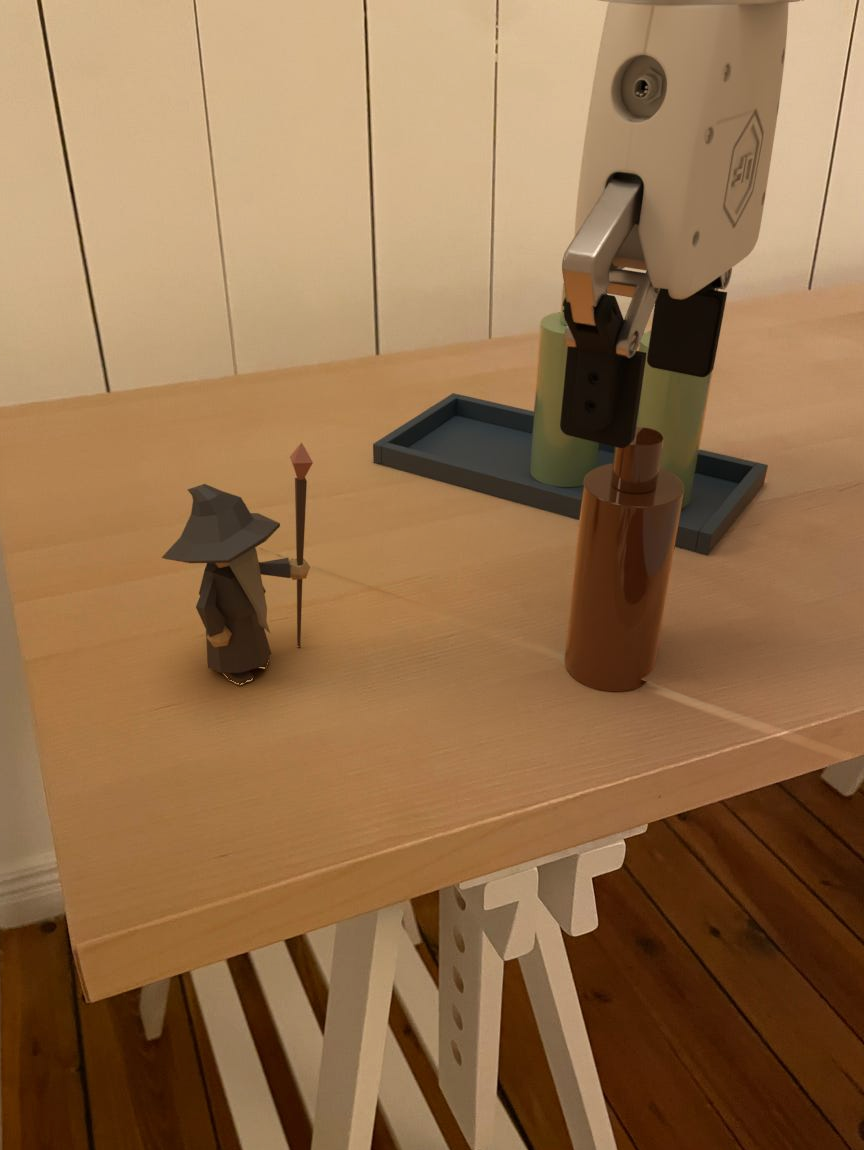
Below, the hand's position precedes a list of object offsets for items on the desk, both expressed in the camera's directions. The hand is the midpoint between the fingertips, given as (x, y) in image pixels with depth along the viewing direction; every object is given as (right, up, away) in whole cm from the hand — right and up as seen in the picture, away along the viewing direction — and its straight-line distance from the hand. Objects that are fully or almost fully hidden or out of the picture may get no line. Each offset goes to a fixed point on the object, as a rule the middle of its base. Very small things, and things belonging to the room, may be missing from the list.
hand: (640, 402), depth 46 cm
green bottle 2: (+7, -1, +24) cm, 25 cm away
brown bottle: (+1, -12, +9) cm, 15 cm away
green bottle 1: (+1, +1, +27) cm, 27 cm away
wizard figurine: (-19, -12, +10) cm, 25 cm away
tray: (+1, +1, +27) cm, 27 cm away
